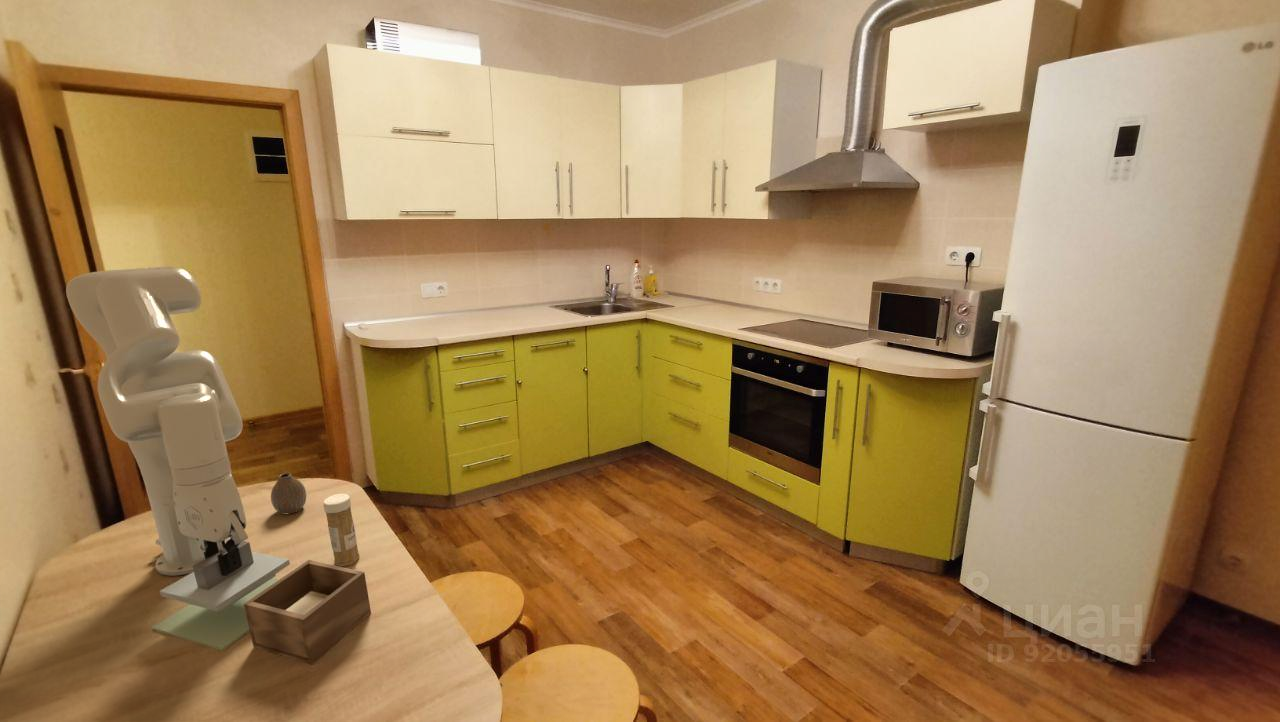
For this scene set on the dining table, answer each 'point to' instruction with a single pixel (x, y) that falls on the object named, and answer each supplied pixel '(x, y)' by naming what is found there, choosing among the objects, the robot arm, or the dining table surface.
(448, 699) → the dining table surface
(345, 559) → the sprinkles bottle
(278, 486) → the vase
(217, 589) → the lid
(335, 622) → the box
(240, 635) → the mat
